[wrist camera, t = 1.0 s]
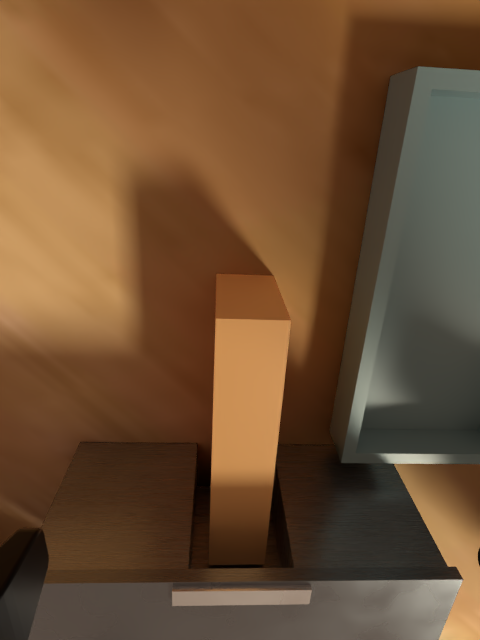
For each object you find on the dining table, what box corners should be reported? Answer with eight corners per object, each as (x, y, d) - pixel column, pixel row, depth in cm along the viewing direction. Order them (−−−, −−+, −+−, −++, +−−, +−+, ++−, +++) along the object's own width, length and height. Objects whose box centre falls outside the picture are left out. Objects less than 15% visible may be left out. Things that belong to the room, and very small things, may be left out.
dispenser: (388, 442, 22) (465, 584, 15) (361, 550, 26) (415, 707, 19) (75, 439, 21) (4, 589, 14) (91, 551, 25) (39, 718, 18)
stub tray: (602, 90, 16) (661, 82, 14) (479, 433, 22) (506, 464, 20) (390, 75, 15) (418, 66, 13) (329, 431, 22) (340, 462, 20)
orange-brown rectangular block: (273, 274, 18) (291, 320, 14) (255, 479, 23) (264, 564, 19) (216, 272, 18) (215, 318, 14) (210, 479, 23) (208, 564, 18)
